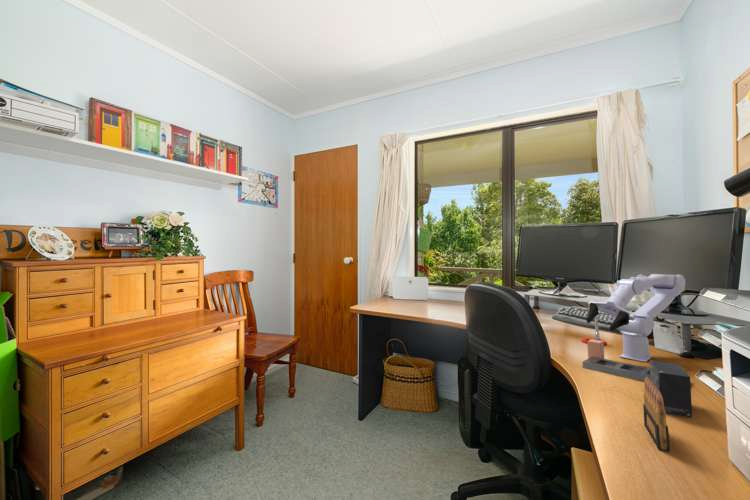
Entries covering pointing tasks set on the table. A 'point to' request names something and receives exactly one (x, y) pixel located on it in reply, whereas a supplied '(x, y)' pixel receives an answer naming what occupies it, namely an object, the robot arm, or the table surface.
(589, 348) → the peg
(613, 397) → the table surface
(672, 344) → the ink box
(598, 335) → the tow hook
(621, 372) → the grey slotted board
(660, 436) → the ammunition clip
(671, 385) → the small box
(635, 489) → the table surface
